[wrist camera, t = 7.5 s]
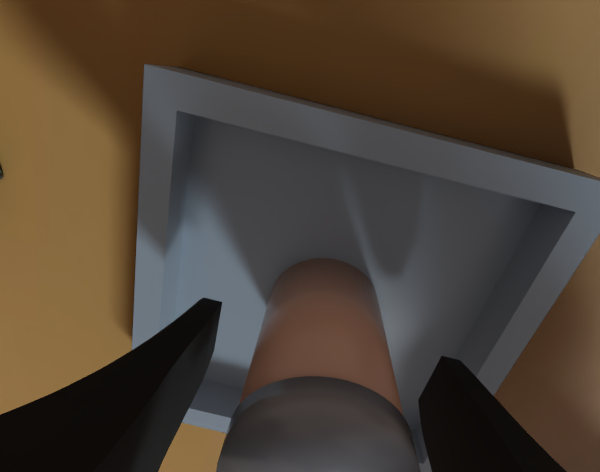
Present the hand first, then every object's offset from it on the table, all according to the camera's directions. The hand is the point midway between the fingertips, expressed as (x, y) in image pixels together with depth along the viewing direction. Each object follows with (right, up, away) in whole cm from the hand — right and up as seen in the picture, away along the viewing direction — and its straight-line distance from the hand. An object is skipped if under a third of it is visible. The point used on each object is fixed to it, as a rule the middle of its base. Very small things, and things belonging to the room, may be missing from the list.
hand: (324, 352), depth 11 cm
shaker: (0, +1, +3) cm, 3 cm away
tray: (0, +2, +4) cm, 4 cm away
